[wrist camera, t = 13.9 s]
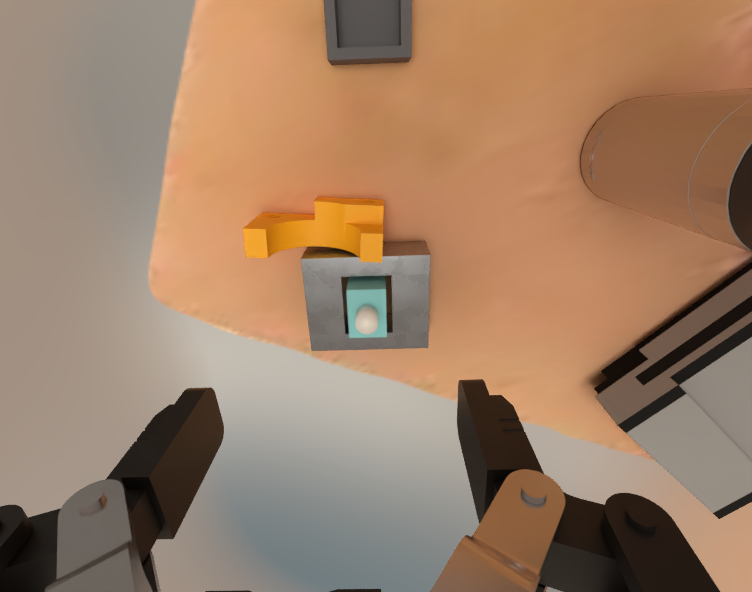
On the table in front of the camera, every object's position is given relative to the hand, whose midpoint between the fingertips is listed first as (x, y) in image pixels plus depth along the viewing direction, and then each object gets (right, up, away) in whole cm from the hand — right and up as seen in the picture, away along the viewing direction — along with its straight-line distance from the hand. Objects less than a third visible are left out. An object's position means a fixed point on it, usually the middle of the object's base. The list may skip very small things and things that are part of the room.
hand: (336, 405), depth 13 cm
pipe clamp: (-4, +11, +27) cm, 30 cm away
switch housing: (0, +5, +30) cm, 30 cm away
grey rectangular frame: (+1, +27, +20) cm, 34 cm away
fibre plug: (0, +5, +30) cm, 30 cm away
